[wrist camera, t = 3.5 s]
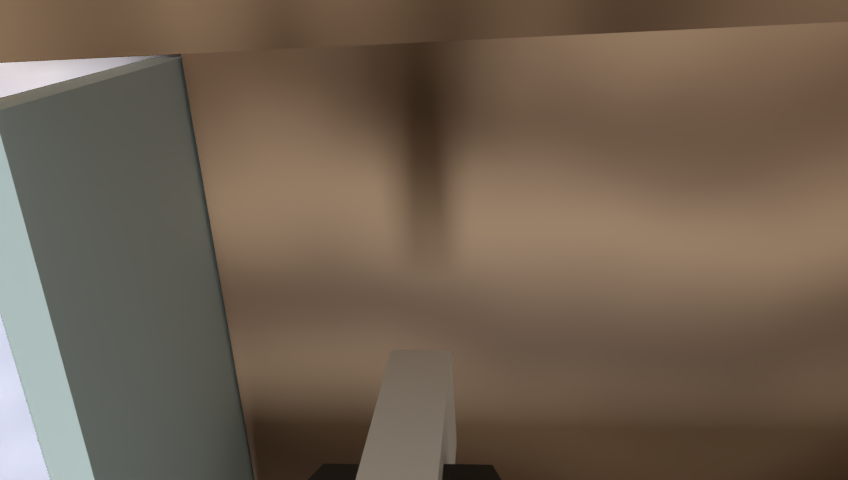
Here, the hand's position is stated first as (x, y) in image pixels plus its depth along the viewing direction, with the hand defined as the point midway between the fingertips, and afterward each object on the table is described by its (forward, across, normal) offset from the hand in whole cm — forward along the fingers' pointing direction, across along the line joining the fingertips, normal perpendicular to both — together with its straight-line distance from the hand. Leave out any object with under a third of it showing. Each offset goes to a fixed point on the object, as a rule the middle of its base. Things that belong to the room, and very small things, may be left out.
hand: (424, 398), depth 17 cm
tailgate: (+5, -7, 0) cm, 8 cm away
